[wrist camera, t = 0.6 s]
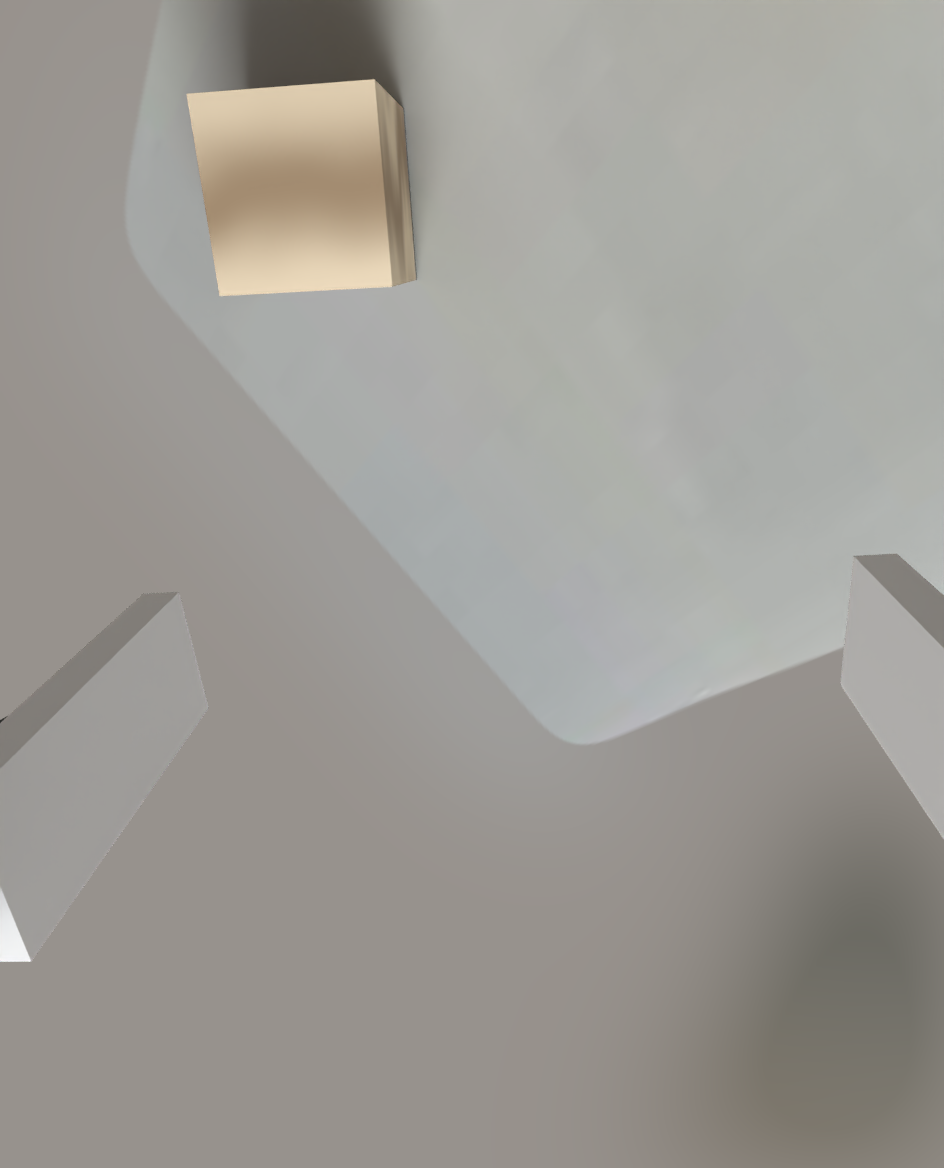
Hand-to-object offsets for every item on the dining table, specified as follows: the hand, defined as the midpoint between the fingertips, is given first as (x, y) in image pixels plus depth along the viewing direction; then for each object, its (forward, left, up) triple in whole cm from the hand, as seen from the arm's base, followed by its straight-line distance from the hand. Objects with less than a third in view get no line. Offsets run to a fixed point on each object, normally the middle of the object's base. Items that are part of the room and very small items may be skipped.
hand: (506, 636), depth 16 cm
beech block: (-9, -9, -26) cm, 29 cm away
